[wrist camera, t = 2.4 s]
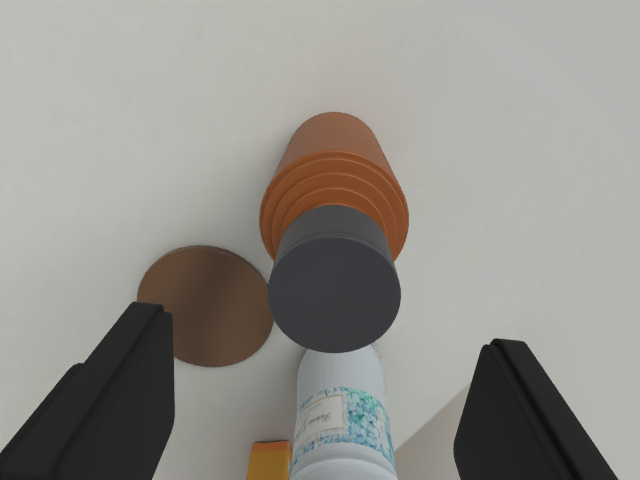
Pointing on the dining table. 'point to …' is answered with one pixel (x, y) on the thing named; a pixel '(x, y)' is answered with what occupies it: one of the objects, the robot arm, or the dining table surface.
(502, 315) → the dining table surface
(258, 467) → the supplement box
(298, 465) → the bottle
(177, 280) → the coaster
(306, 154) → the sauce bottle
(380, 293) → the cap
